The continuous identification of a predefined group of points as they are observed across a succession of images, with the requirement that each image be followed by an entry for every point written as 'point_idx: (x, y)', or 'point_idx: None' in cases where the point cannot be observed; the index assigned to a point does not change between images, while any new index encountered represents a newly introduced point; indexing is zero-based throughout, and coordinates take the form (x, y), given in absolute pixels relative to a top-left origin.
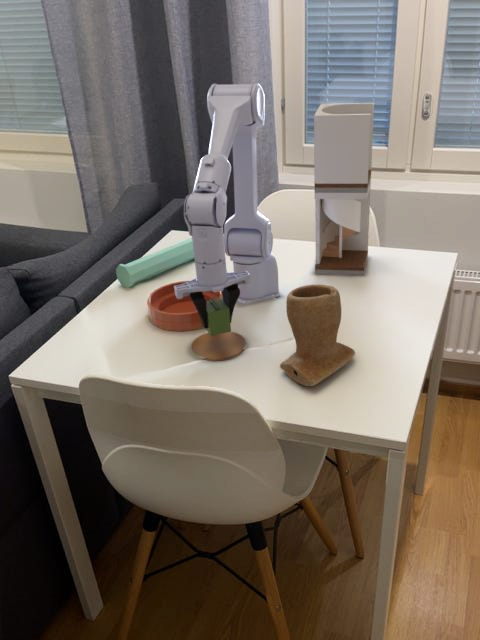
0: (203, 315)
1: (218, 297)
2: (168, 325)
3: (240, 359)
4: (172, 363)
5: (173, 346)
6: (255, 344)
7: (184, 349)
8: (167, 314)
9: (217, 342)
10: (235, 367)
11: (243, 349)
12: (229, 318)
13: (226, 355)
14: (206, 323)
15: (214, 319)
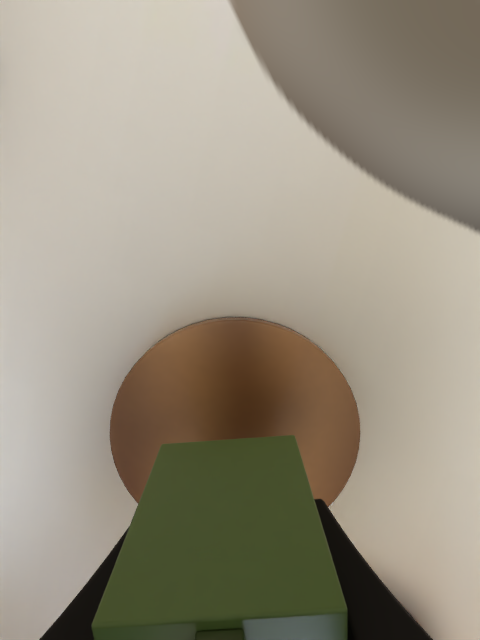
0: (374, 600)
1: None
2: None
3: (167, 297)
4: (462, 376)
5: (412, 502)
6: (74, 398)
7: (378, 465)
8: None
9: None
10: (206, 235)
11: (135, 364)
12: (137, 518)
13: (225, 334)
14: (322, 526)
15: (271, 527)
